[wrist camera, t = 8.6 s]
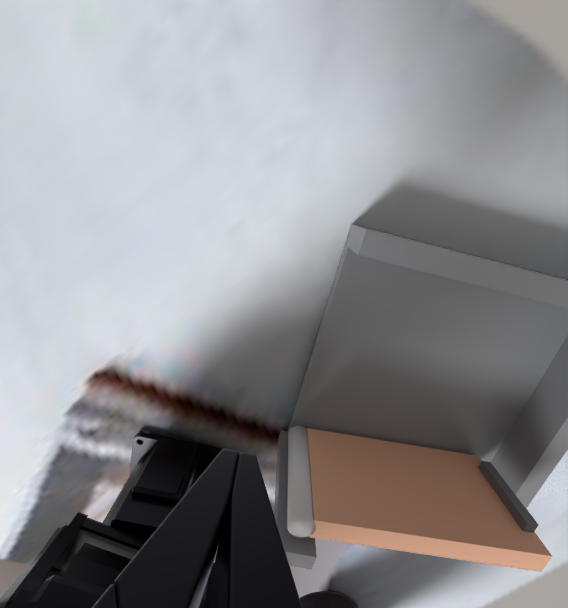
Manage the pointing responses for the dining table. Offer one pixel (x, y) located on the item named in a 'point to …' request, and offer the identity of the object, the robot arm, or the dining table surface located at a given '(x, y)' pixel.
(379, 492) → the door
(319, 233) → the dining table surface
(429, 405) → the housing
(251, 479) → the robot arm
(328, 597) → the camera lens
